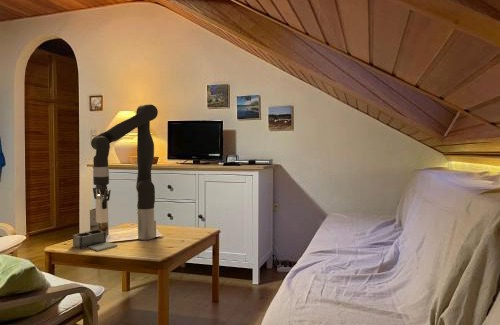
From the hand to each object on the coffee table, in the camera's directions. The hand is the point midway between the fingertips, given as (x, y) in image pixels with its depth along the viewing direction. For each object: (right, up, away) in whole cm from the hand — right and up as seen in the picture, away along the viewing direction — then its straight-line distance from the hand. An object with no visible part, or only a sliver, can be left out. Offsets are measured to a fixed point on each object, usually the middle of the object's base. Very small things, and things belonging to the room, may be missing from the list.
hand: (101, 208), depth 197 cm
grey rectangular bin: (-9, -20, +6) cm, 23 cm away
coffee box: (-10, -19, +23) cm, 32 cm away
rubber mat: (0, -21, +2) cm, 21 cm away
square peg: (0, -7, 0) cm, 7 cm away
